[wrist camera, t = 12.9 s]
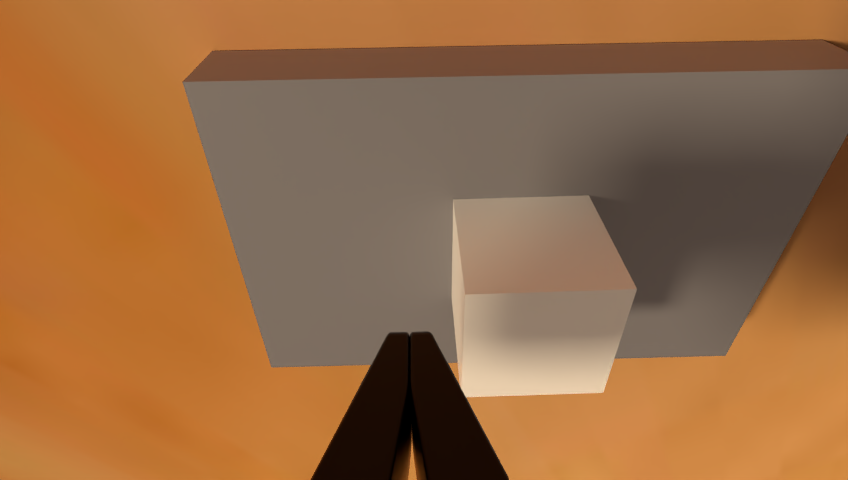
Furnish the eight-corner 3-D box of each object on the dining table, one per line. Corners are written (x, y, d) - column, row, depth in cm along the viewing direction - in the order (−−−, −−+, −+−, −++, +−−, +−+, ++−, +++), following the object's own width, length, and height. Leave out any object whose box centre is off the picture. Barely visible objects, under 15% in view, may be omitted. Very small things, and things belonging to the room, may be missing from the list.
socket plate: (822, 39, 18) (883, 68, 16) (697, 310, 27) (725, 355, 25) (212, 51, 18) (182, 81, 16) (283, 321, 27) (271, 367, 24)
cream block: (569, 158, 21) (637, 289, 15) (553, 252, 24) (603, 392, 18) (448, 162, 21) (465, 294, 15) (447, 255, 24) (461, 397, 18)
